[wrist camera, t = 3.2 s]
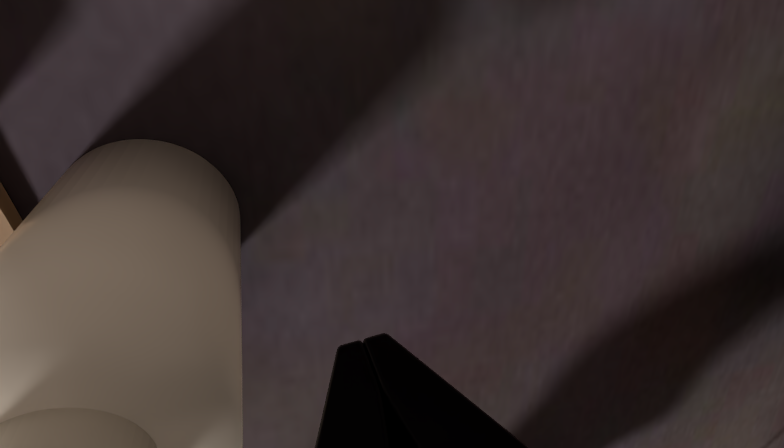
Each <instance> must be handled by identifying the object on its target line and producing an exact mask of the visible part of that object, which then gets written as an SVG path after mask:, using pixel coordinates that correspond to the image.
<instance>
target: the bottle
mask: <svg viewBox="0 0 784 448" xmlns="http://www.w3.org/2000/svg"><path fill="white" fill-rule="evenodd" d="M0 448H243V417H242V323H241V230H240V210H239V206H238V202H237V199H236V196H235V194H234V192H233V190H232V188H231V186H230V185H229V183H228V182H227V180H226V179H225V178H224V176H223V175H222V174H221V173H220V172H219V171H218V170H217V169H216V168H215V167H214V166H213V165H212V164H211V163H209V162H208V161H207V160H205V159H204V158H202V157H201V156H199V155H198V154H196V153H194V152H192V151H190V150H188V149H186V148H184V147H181V146H178V145H175V144H172V143H168V142H163V141H158V140H149V139H130V140H122V141H117V142H113V143H109V144H105V145H103V146H100V147H98V148H95V149H93V150H92V151H90V152H88V153H86V154H84V155H83V156H82V157H81V158H79V159H78V160H77V161H75V162H74V163H73V164H72V165H71V166H70V168H69V169H68V170H67V171H66V172H65V173H64V174H63V175H62V177H61V178H60V179H59V180H58V181H57V182H56V183H55V185H54V186H53V187H52V188H51V189H50V190H49V192H48V193H47V194H46V195H45V196H44V197H43V198H42V200H41V201H40V202H39V203H38V204H37V205H36V207H35V208H34V209H33V210H32V211H31V212H30V213H29V215H28V216H27V217H26V218H25V219H24V220H23V222H22V223H21V224H20V225H19V226H18V227H17V229H16V230H15V231H14V232H13V233H12V234H11V235H10V237H9V238H8V239H7V240H6V241H5V242H4V244H3V245H2V246H1V247H0Z"/></svg>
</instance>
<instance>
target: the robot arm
mask: <svg viewBox="0 0 784 448" xmlns="http://www.w3.org/2000/svg"><path fill="white" fill-rule="evenodd" d="M315 448H528V447H527V446H526V445H525V444H523V443H522V442H521V441H520V440H518V439H517V438H516V437H515V436H513V435H512V434H511V433H510V432H508V431H507V430H506V429H505V428H503V427H502V426H501V425H500V424H499V423H497V422H496V421H495V420H494V419H492V418H491V417H490V416H489V415H487V414H486V413H485V412H484V411H482V410H481V409H480V408H479V407H477V406H476V405H475V404H474V403H472V402H471V401H470V400H469V399H468V398H466V397H465V396H464V395H463V394H461V393H460V392H459V391H458V390H456V389H455V388H454V387H453V386H451V385H450V384H449V383H448V382H446V381H445V380H444V379H443V378H441V377H440V376H439V375H438V374H437V373H435V372H434V371H433V370H432V369H430V368H429V367H428V366H427V365H425V364H424V363H423V362H422V361H420V360H419V359H418V358H417V357H415V356H414V355H413V354H412V353H410V352H409V351H408V350H407V349H406V348H404V347H403V346H402V345H401V344H399V343H398V342H397V341H396V340H394V339H393V338H392V337H391V336H389V335H388V334H385V333H382V334H379V335H375V336H372V337H368V338H366V339H364V341H363V343H362V342H361V341H359V340H358V341H354V342H351V343H347V344H344V345H341V346H339V347H338V349H337V352H336V357H335V361H334V366H333V370H332V375H331V379H330V383H329V388H328V392H327V397H326V401H325V406H324V410H323V414H322V419H321V423H320V428H319V432H318V437H317V441H316V445H315Z"/></svg>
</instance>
